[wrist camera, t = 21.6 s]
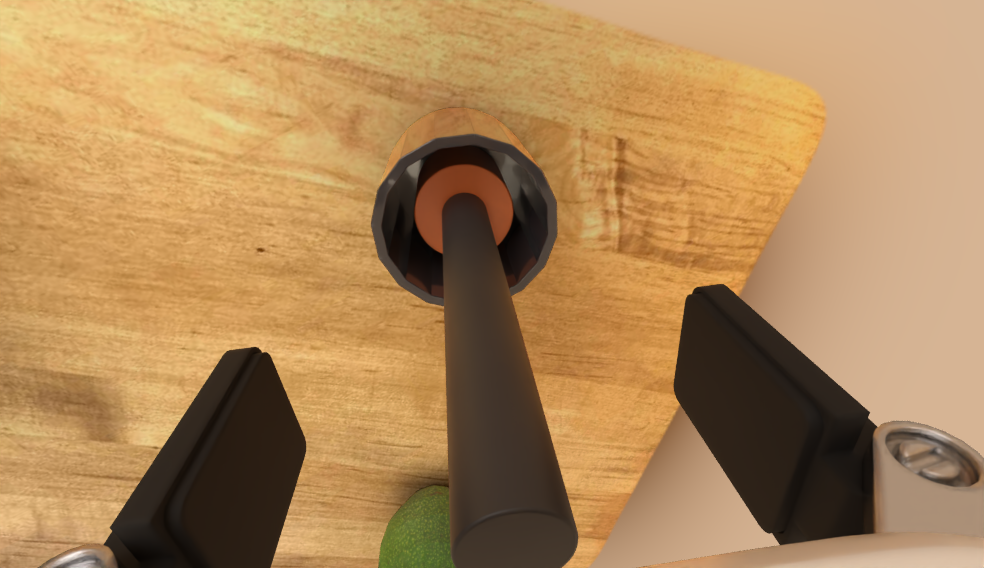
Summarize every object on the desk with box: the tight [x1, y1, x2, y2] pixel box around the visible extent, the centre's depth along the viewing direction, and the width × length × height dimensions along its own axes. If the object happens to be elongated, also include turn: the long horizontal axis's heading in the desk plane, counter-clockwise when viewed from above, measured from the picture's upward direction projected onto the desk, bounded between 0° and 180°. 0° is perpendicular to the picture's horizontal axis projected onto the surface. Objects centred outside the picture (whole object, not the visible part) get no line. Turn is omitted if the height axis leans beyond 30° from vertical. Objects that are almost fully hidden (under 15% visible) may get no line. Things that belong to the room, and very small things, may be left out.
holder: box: [371, 107, 557, 306], centre depth 21 cm, size 7×7×7 cm
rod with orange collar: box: [414, 146, 578, 568], centre depth 15 cm, size 4×4×19 cm
